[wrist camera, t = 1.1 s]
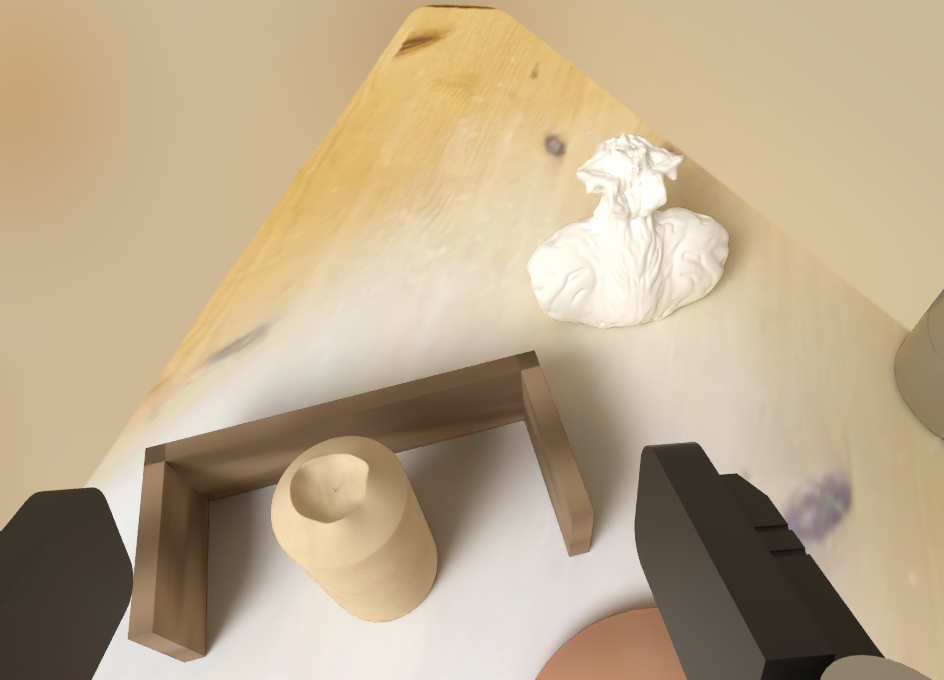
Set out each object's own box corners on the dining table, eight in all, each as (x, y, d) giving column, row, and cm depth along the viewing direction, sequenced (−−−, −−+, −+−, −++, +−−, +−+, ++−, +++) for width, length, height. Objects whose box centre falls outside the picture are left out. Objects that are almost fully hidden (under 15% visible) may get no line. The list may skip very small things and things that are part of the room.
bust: (704, 298, 43) (695, 123, 40) (757, 324, 35) (749, 112, 32) (528, 325, 43) (505, 153, 40) (543, 357, 35) (517, 149, 32)
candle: (423, 498, 34) (383, 401, 26) (452, 601, 30) (417, 525, 22) (322, 532, 33) (250, 443, 25) (341, 640, 30) (264, 578, 22)
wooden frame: (191, 489, 35) (145, 448, 31) (536, 400, 37) (534, 350, 33) (184, 662, 30) (127, 639, 26) (589, 551, 31) (594, 513, 27)
